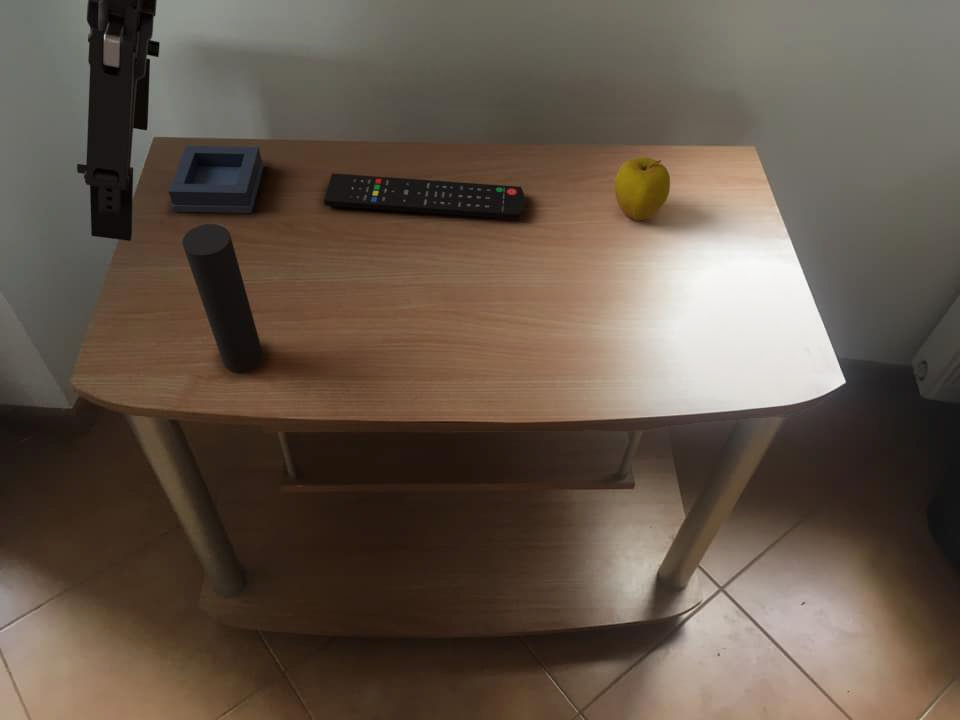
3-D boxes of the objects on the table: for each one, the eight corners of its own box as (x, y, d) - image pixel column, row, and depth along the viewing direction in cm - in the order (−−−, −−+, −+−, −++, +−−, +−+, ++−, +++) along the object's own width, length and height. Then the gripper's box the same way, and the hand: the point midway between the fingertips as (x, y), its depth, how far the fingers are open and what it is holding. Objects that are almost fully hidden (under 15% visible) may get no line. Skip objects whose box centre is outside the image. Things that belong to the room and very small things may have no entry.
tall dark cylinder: (218, 372, 78) (176, 253, 66) (228, 342, 81) (189, 222, 69) (258, 374, 78) (224, 256, 66) (266, 343, 81) (235, 224, 69)
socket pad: (173, 212, 93) (166, 191, 91) (190, 164, 99) (184, 144, 97) (251, 213, 94) (246, 193, 91) (264, 166, 100) (259, 146, 97)
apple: (672, 218, 96) (688, 164, 90) (633, 236, 94) (646, 182, 87) (638, 190, 99) (651, 136, 93) (599, 207, 97) (609, 152, 91)
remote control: (333, 182, 98) (332, 173, 97) (524, 195, 98) (525, 187, 97) (325, 209, 95) (323, 200, 94) (523, 223, 94) (524, 214, 93)
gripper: (175, 32, 42) (159, 296, 57) (199, -155, 57) (181, 95, 72) (15, -3, 39) (43, 284, 55) (83, -189, 54) (90, 77, 69)
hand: (121, 177), depth 63 cm, fingers open, 13 cm apart
